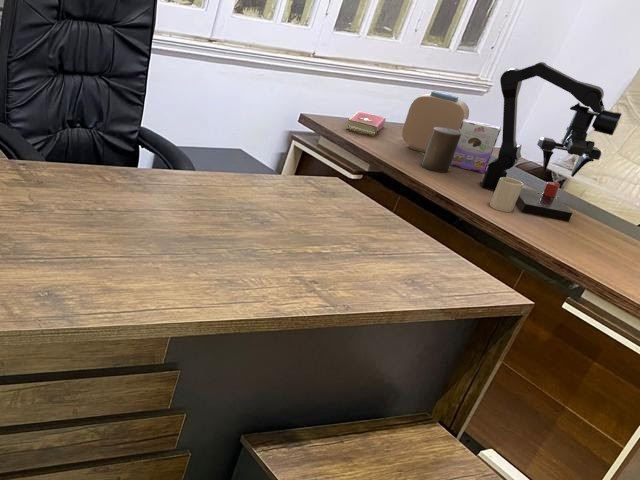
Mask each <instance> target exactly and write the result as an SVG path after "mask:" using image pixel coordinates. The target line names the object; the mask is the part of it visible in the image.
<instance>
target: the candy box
mask: <svg viewBox="0 0 640 480" xmlns="http://www.w3.org/2000/svg"><path fill="white" fill-rule="evenodd" d="M501 130H502V126H499V125H494V124H491V123H485V122H482V121H477V120H472V119H469V118H468V119H463V121H462V123H461V126H460V129H459V132H460V133H461V136H460V139H459V142H458V145H457V147H456V150H455V153H454V156H453V159H452V162H451V165H450V167H451V166H453V167H456V168H460V169H465V170H469V171H473V172H476V173H477V172H478V173H482V174H485V173H486V170H487V167H488V164H489V163H490V159H491V157H492V154H493V152H494V149H495V146H496V144H497V141H498V138H499V135H500V133H501Z"/></svg>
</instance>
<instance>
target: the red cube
mask: <svg viewBox="0 0 640 480" xmlns="http://www.w3.org/2000/svg"><path fill="white" fill-rule="evenodd" d="M544 187H545V188H544V189H543V191H542V192H543V195H545V196H548V197H555V196H556V195H557V193H558V192H559V189H560V187H561V184H560V183H558V182H554V181H553V182H552V181H547V182H546V185H545V186H544Z"/></svg>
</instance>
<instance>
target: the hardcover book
mask: <svg viewBox="0 0 640 480" xmlns="http://www.w3.org/2000/svg"><path fill="white" fill-rule="evenodd" d="M385 123H386V117H385V116H381V115H377V114H374V113H368V112H364V111H361V110H358V111H357V112H356V113H354V114H353V115H352V116H351V117H350V118H348V124H347V127H346V128H348V129H351V130H355V131H358V132H357V133H359V132H362V133H361V134H363V133H365V134H364V135H367V134H369V135H368V136H371V135H372V136H373V137H375V136H376V134H377V133H378V132H380V130H381V129H382V128H383V127H384V126H385ZM348 125H350V126H355V127H358V128H361V129H365V130H368V131H372V132H375V133H376V132H377V131H378V132H377V133H376V134H374V133H371V132H367V131H363V130H359V129H355V128H351V127H348ZM351 130H350V131H351ZM355 131H354V132H355ZM372 136H371V137H372Z"/></svg>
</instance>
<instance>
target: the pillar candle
mask: <svg viewBox="0 0 640 480" xmlns="http://www.w3.org/2000/svg"><path fill="white" fill-rule="evenodd" d="M460 136H461V133H460V132H459V131H456V130H453V129H449V128H444V127H434V130H433V133H432V136H431V139H430V142H429V144H428V147H427V150H426V153H425V154H424V157H423V160H422V162H421V166H422V167H423V168H425V169H428V170H430V171H433V172H439V173H448V172H449V171H450V167H451V162H452V159H453V156H454V153H455V150H456V147H457V145H458V142H459V139H460Z"/></svg>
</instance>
